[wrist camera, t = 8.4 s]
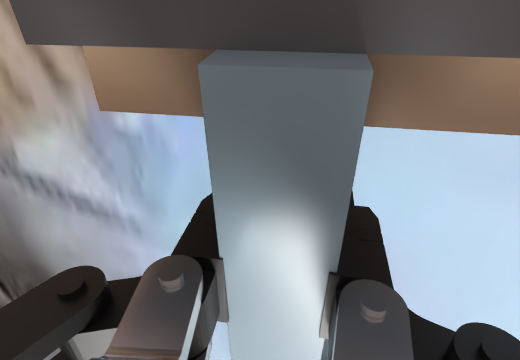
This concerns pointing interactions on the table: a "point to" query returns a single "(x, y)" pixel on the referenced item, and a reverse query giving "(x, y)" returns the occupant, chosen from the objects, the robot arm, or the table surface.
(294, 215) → the scraper
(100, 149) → the table surface
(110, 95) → the wooden box lid
